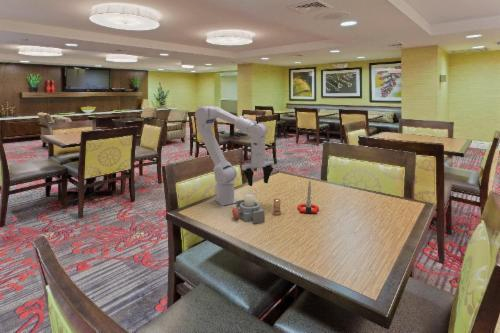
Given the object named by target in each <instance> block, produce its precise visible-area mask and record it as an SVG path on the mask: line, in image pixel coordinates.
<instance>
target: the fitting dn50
mask: <svg viewBox="0 0 500 333" xmlns="http://www.w3.org/2000/svg"><path fill="white" fill-rule="evenodd" d="M243 195H244V197H243V200H244V207H256V206H255V202H256V198H255V197H256V194H255V193H253V192H246V193H244V194H243Z"/></svg>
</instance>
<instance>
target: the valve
mask: <svg viewBox="0 0 500 333" xmlns="http://www.w3.org/2000/svg"><path fill="white" fill-rule="evenodd" d="M235 204H236V207H233V208H232V211H231V212H232V217H233V218H234V220H238V219H239V218H240V219H242V220H243V221H245V222H251V221H252V224H254V225H256V224H260V223H264V222H265V220H266V219H265V216H266V215H265V214H266V213H265V212H266V211H265V210H264V209H263V208H261V203H259V202H258V201H255V206H256V207H244V199H240V200H237V201H236V203H235Z"/></svg>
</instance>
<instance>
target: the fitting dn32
mask: <svg viewBox="0 0 500 333" xmlns="http://www.w3.org/2000/svg"><path fill="white" fill-rule="evenodd" d="M272 204H273V209H272V215H274V216H280V215H281V214H282V210H281V198H274V199H273V203H272Z"/></svg>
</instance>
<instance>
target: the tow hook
mask: <svg viewBox="0 0 500 333" xmlns="http://www.w3.org/2000/svg"><path fill="white" fill-rule="evenodd" d="M311 181H312V180H308V186H307V200H306V203H301V204H299V205H297V208H296V209H297V210H298V211H299V213H300V214H306V215H307V214H313V215H315V214H316V215H317V214H318V211H320V207H319V206H318V205H316V204H312V201H311V197H312V196H311V194H312V183H311ZM312 208H313V209H312Z"/></svg>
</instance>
